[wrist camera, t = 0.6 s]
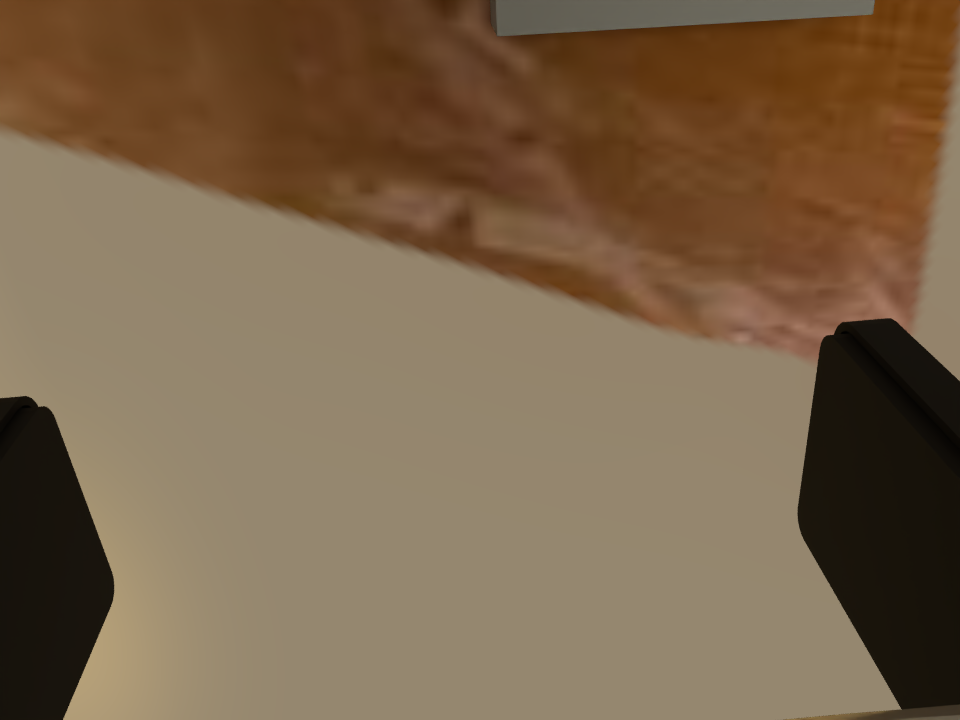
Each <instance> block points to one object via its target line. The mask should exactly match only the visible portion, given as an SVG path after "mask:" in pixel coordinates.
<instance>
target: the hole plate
mask: <svg viewBox="0 0 960 720" xmlns="http://www.w3.org/2000/svg"><path fill="white" fill-rule="evenodd" d="M874 3H875V0H490V11H491V25H492V27H493V29H494V31H495V33H496V35H497V36H512V35H529V34H546V33H563V32H580V31H598V30H615V29H632V28H649V27H666V26H683V25H700V24H717V23H734V22H751V21H768V20H785V19H802V18H820V17H837V16H854V15H871V14H873V9H874Z"/></svg>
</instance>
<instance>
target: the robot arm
mask: <svg viewBox="0 0 960 720" xmlns="http://www.w3.org/2000/svg"><path fill="white" fill-rule="evenodd" d="M798 523H799V528H800V531H801V534H802V536H803V539H804V541H805V542H806V544H807V546H808V548H809V549H810V551H811V553H812V555H813V556H814V558H815V560H816V562H817V563H818V565H819V567H820V568H821V570H822V572H823V574H824V575H825V577H826V579H827V581H828V582H829V584H830V586H831V587H832V589H833V591H834V593H835V594H836V596H837V598H838V600H839V601H840V603H841V605H842V607H843V608H844V610H845V612H846V614H847V615H848V617H849V619H850V620H851V622H852V624H853V626H854V627H855V629H856V631H857V633H858V634H859V636H860V638H861V639H862V641H863V643H864V645H865V647H866V648H867V650H868V652H869V653H870V655H871V657H872V659H873V660H874V662H875V664H876V666H877V667H878V669H879V671H880V672H881V674H882V676H883V678H884V680H885V681H886V683H887V685H888V686H889V688H890V690H891V692H892V693H893V695H894V697H895V698H896V700H897V702H898V704H899V706H900V707H901V709H902V710H890V711H876V712H863V713H850V714H839V715H828V716H818V717H807V718H796V719H785V720H960V381H959V380H958V379H957V378H956V377H955V376H954V375H952V374H951V373H950V372H949V371H948V370H947V369H946V368H945V367H944V366H943V365H942V364H941V363H940V362H938V360H936V359H935V358H934V357H933V356H932V355H931V354H930V353H929V352H928V351H927V350H926V349H925V348H924V347H923V346H921V344H919V343H918V342H917V341H916V340H915V339H914V338H913V337H912V336H911V335H910V334H909V333H908V332H907V331H906V330H905V329H903V328H902V327H901V326H900V325H899V324H898V323H897V322H896V321H894V320H893V319H891V318H886V319H874V320H863V321H852V322H842V323H841V324H840V325H838V327H837V329H836V331H835V333H834V335H827V336H826V337H824V338H823V340H822V342H821V346H820V352H819V359H818V366H817V373H816V381H815V388H814V395H813V403H812V409H811V417H810V424H809V432H808V439H807V446H806V453H805V460H804V467H803V475H802V482H801V489H800V496H799V504H798ZM113 596H114V579H113V574H112V571H111V568H110V566H109V563H108V560H107V557H106V555H105V552H104V549H103V547H102V544H101V541H100V539H99V536H98V533H97V530H96V528H95V525H94V522H93V519H92V517H91V514H90V512H89V509H88V506H87V503H86V501H85V498H84V495H83V492H82V490H81V487H80V484H79V482H78V479H77V476H76V473H75V471H74V468H73V466H72V463H71V460H70V457H69V455H68V452H67V449H66V446H65V444H64V441H63V438H62V436H61V433H60V430H59V428H58V425H57V422H56V420H55V417H54V415H53V414H52V412H51V410H50V409H49V408H47V407H45V406H43V407H38V405H37V404H36V402H35V401H34V400H33V399H32V398H30V397H27V396H22V397H11V398H0V720H63V718H64V716H65V713H66V711H67V709H68V706H69V704H70V701H71V699H72V697H73V694H74V692H75V690H76V687H77V685H78V683H79V680H80V678H81V676H82V673H83V671H84V669H85V666H86V664H87V661H88V659H89V657H90V654H91V652H92V650H93V647H94V645H95V643H96V640H97V638H98V635H99V633H100V631H101V628H102V626H103V624H104V621H105V619H106V616H107V614H108V612H109V610H110V607H111V604H112V601H113Z"/></svg>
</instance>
